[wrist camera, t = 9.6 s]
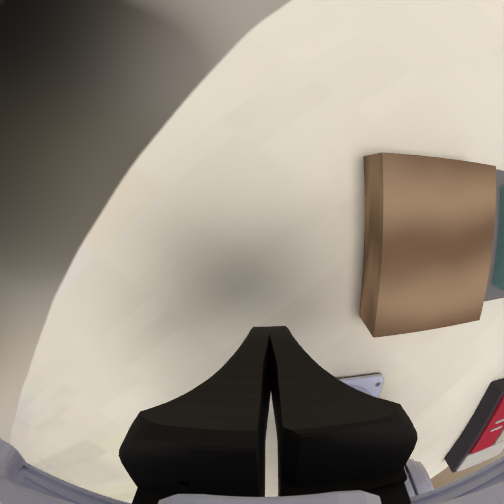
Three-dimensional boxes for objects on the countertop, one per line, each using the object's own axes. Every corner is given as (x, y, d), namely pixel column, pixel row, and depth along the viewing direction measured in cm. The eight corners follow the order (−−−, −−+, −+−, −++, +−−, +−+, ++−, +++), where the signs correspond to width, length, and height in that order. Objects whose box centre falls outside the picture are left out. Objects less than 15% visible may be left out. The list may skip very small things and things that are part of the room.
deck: (458, 303, 21) (479, 319, 18) (359, 315, 22) (373, 337, 18) (469, 165, 18) (495, 166, 15) (363, 156, 19) (382, 152, 15)
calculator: (546, 378, 20) (500, 456, 23) (530, 365, 24) (489, 441, 27) (504, 395, 20) (453, 477, 23) (487, 377, 24) (442, 458, 27)
